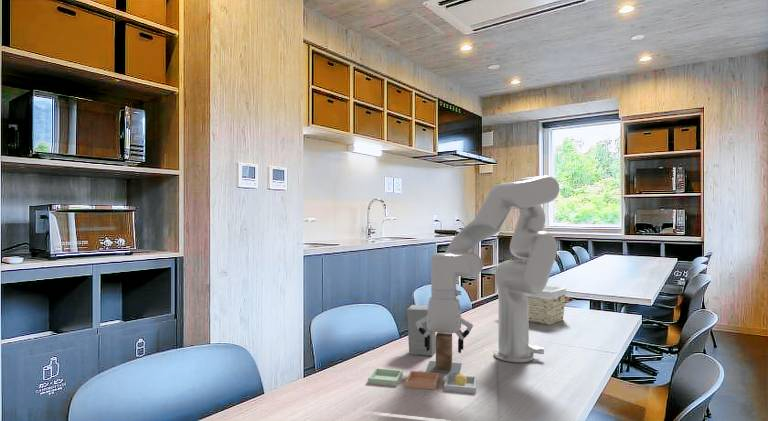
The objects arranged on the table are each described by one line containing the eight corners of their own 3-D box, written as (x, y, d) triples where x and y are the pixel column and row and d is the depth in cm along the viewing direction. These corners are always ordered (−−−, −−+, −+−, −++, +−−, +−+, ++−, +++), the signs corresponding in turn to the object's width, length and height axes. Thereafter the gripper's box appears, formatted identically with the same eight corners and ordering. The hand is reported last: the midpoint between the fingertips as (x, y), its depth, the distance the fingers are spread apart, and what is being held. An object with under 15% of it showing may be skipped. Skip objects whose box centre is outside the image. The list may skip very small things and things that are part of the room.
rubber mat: (461, 365, 139) (461, 363, 139) (459, 376, 129) (459, 374, 129) (429, 362, 141) (429, 360, 141) (425, 374, 131) (425, 372, 131)
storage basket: (568, 320, 194) (568, 286, 194) (550, 327, 183) (549, 291, 183) (519, 311, 212) (519, 280, 212) (499, 316, 201) (499, 284, 201)
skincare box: (436, 351, 153) (436, 304, 153) (431, 357, 146) (431, 309, 146) (412, 348, 155) (412, 303, 155) (406, 354, 149) (406, 307, 149)
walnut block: (452, 365, 137) (452, 333, 137) (450, 370, 132) (450, 337, 132) (437, 364, 138) (437, 332, 138) (435, 369, 133) (435, 336, 133)
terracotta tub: (439, 380, 126) (439, 373, 126) (435, 391, 118) (435, 384, 118) (410, 377, 128) (410, 370, 128) (405, 389, 120) (405, 381, 120)
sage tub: (402, 377, 129) (402, 370, 129) (396, 388, 121) (396, 380, 121) (375, 374, 131) (375, 367, 131) (367, 385, 123) (367, 378, 123)
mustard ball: (467, 384, 122) (467, 372, 122) (466, 388, 119) (466, 376, 119) (455, 383, 123) (455, 371, 123) (454, 387, 120) (454, 375, 120)
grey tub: (476, 383, 124) (476, 376, 124) (475, 395, 116) (475, 388, 116) (447, 381, 126) (447, 374, 126) (444, 392, 118) (444, 385, 118)
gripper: (473, 293, 136) (473, 348, 136) (417, 290, 141) (417, 344, 141) (472, 297, 129) (472, 356, 129) (413, 295, 133) (413, 352, 133)
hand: (443, 350), depth 135 cm, fingers open, 9 cm apart
